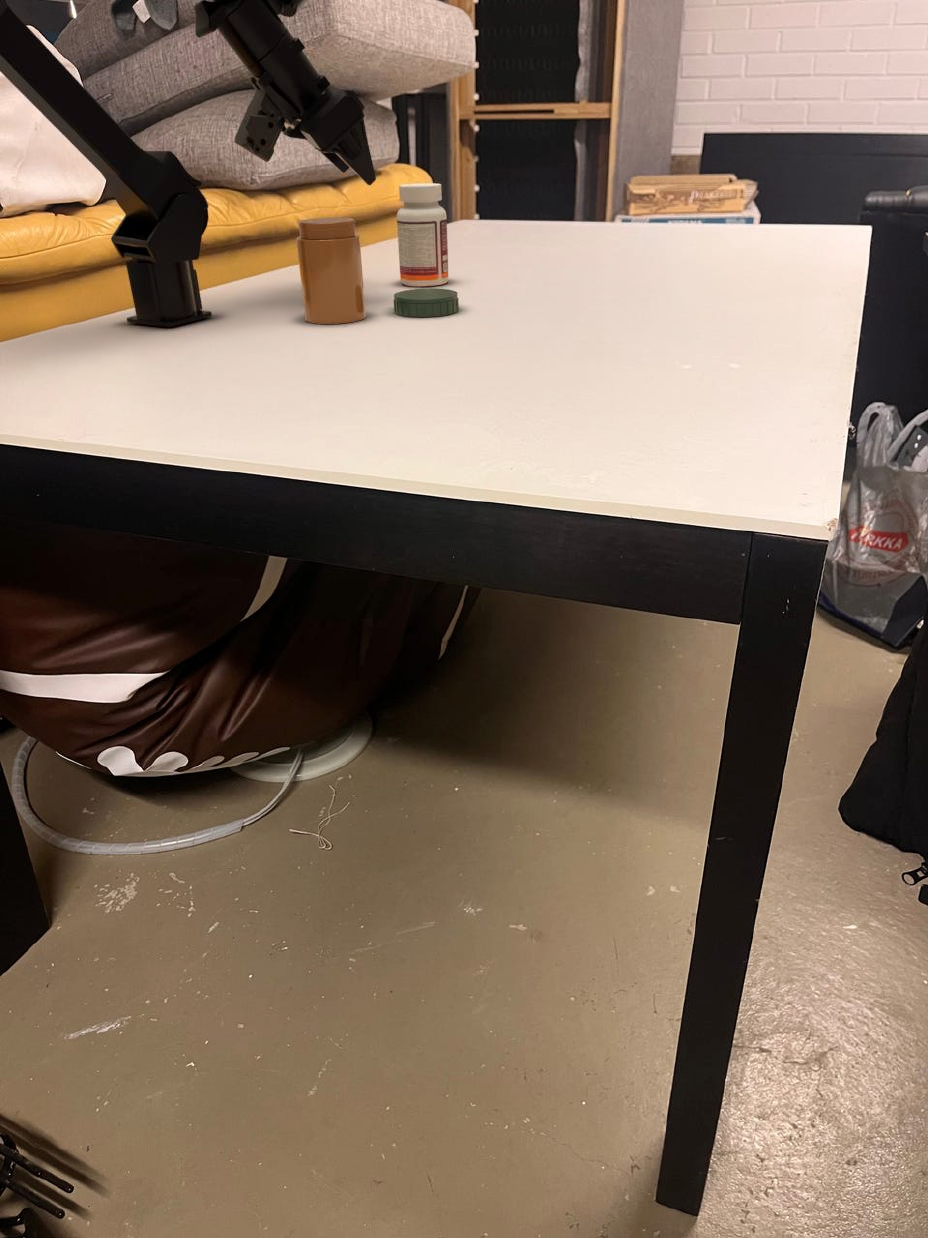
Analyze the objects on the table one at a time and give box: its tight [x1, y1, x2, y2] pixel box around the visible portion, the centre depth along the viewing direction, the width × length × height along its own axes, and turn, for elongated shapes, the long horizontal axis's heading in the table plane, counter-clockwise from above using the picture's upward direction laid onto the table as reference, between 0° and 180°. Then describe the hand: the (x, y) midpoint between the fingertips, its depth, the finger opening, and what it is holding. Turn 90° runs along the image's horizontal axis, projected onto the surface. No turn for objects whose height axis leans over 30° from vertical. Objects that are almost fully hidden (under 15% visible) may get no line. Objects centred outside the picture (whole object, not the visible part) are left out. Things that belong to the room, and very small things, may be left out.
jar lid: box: [393, 287, 460, 318], centre depth 95 cm, size 7×7×2 cm
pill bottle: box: [396, 182, 449, 288], centre depth 109 cm, size 6×6×11 cm
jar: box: [295, 217, 367, 325], centre depth 90 cm, size 6×6×10 cm
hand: (359, 175), depth 101 cm, fingers open, 9 cm apart
